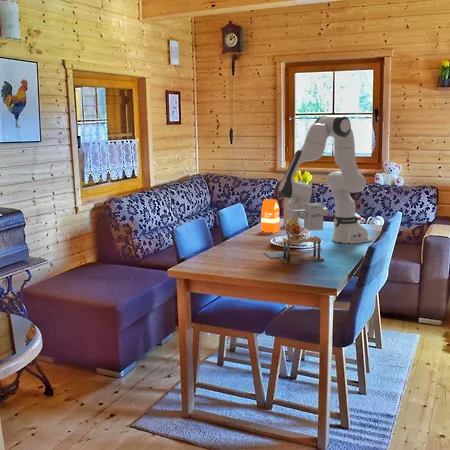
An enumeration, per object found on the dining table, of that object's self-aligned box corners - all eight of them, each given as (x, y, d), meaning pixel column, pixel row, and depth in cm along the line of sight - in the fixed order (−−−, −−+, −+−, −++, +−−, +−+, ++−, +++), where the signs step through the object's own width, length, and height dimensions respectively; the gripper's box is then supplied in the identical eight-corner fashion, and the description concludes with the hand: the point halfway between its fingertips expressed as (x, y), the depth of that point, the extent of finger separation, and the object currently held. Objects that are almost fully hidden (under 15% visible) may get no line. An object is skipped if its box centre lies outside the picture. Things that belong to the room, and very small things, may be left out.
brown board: (317, 256, 279) (317, 254, 279) (324, 260, 271) (324, 258, 271) (279, 260, 274) (279, 257, 274) (286, 264, 266) (286, 262, 266)
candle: (304, 227, 354) (304, 196, 350) (283, 226, 357) (283, 196, 353) (305, 225, 361) (305, 194, 357) (284, 224, 364) (284, 194, 360)
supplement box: (309, 231, 271) (310, 205, 268) (303, 227, 278) (304, 203, 275) (323, 230, 273) (324, 204, 270) (317, 226, 280) (317, 202, 277)
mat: (282, 252, 290) (282, 251, 290) (289, 257, 280) (289, 255, 280) (264, 254, 287) (264, 252, 287) (271, 258, 278) (271, 257, 278)
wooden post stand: (315, 255, 278) (315, 235, 276) (320, 258, 272) (320, 238, 270) (283, 258, 273) (283, 238, 272) (287, 261, 268) (287, 241, 266)
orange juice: (266, 229, 350) (266, 198, 346) (279, 230, 345) (279, 198, 341) (261, 231, 343) (261, 199, 339) (274, 232, 339) (274, 200, 335)
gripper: (284, 205, 283) (294, 209, 270) (321, 203, 288) (333, 207, 275) (284, 217, 284) (294, 222, 271) (321, 215, 289) (333, 219, 276)
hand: (314, 214), depth 273 cm, fingers closed on supplement box, 7 cm apart
